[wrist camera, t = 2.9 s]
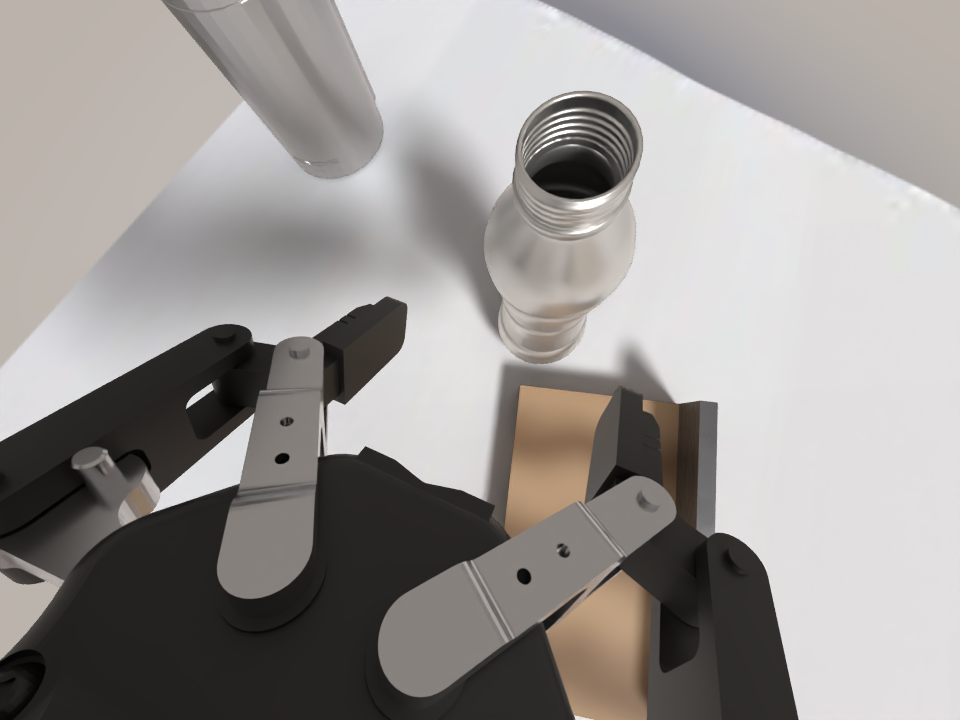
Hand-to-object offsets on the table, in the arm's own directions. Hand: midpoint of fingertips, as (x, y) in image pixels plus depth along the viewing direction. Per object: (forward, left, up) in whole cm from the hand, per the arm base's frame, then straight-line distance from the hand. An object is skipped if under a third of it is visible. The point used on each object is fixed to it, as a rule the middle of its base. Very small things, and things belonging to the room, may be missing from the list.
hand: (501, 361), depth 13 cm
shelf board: (+9, +7, -16) cm, 20 cm away
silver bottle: (-6, +2, -17) cm, 18 cm away
